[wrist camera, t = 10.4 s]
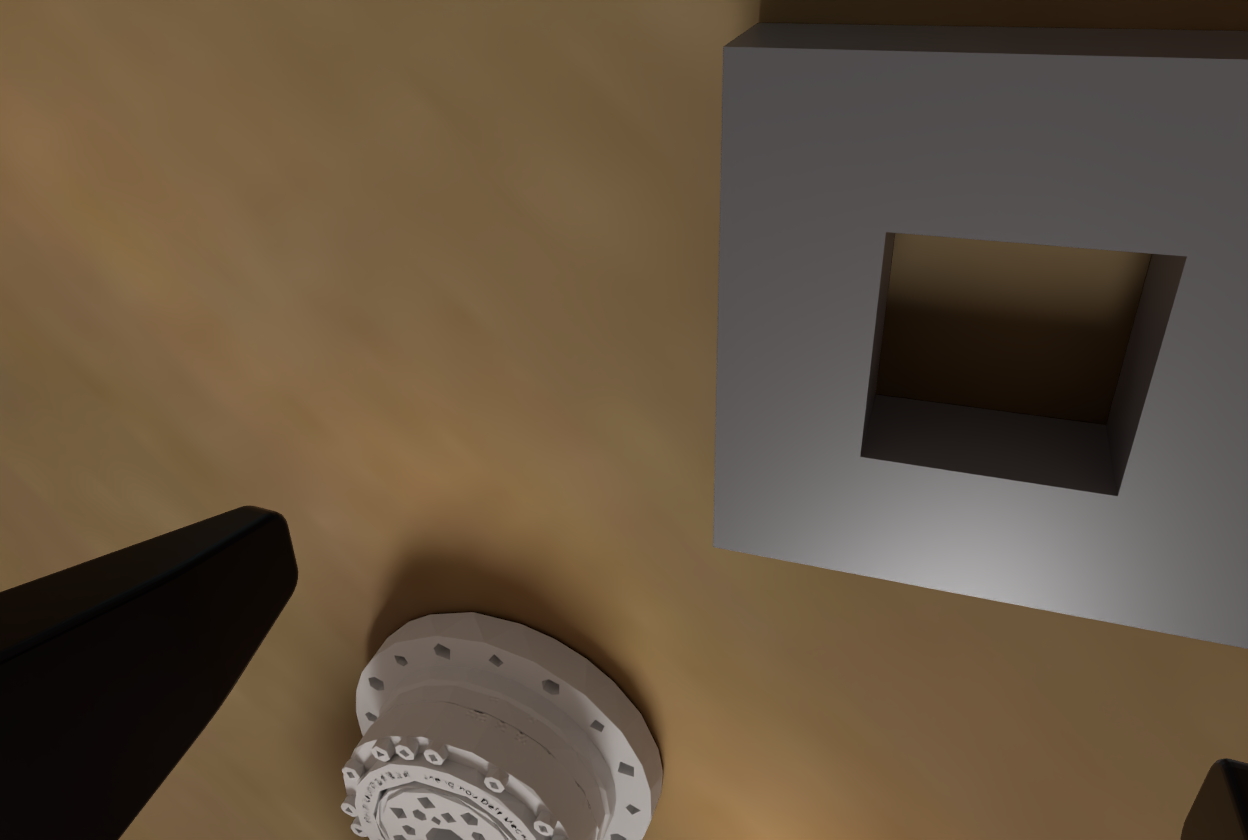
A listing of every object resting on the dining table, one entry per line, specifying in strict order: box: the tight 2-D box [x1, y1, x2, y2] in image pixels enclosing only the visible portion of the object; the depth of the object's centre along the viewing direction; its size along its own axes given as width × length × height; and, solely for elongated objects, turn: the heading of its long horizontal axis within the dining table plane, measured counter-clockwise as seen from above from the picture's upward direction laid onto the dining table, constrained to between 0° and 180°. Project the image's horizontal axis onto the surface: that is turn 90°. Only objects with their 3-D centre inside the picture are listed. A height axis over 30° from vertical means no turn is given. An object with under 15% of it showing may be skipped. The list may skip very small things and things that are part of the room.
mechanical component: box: [341, 612, 663, 840], centre depth 28 cm, size 10×4×10 cm
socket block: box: [713, 23, 1248, 649], centre depth 17 cm, size 10×10×2 cm
